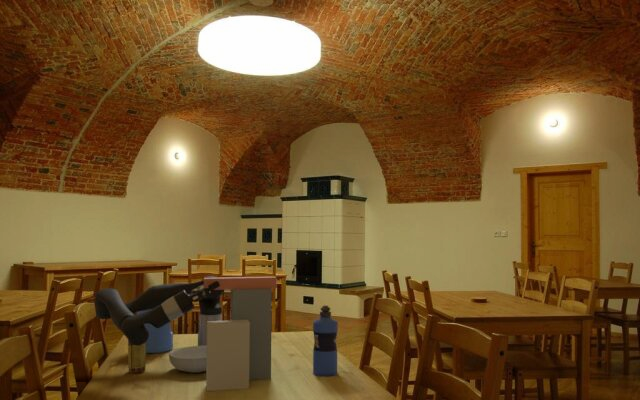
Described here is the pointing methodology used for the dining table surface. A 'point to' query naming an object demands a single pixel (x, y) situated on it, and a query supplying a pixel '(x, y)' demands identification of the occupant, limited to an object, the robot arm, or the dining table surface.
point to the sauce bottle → (136, 357)
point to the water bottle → (325, 344)
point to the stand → (240, 342)
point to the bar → (242, 282)
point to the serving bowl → (189, 358)
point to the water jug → (158, 338)
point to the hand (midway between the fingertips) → (218, 281)
